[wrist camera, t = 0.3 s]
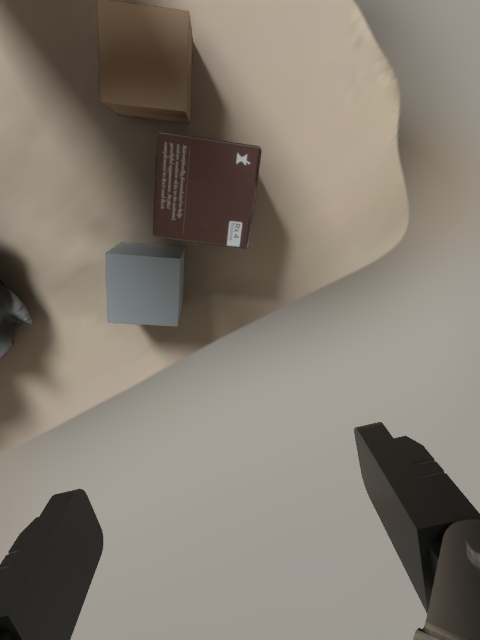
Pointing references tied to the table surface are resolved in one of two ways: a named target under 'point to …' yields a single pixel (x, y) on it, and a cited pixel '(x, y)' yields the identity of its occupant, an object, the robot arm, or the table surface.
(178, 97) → the walnut block
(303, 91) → the table surface
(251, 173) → the box
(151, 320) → the grey block
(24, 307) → the grey-blue rounded figure
